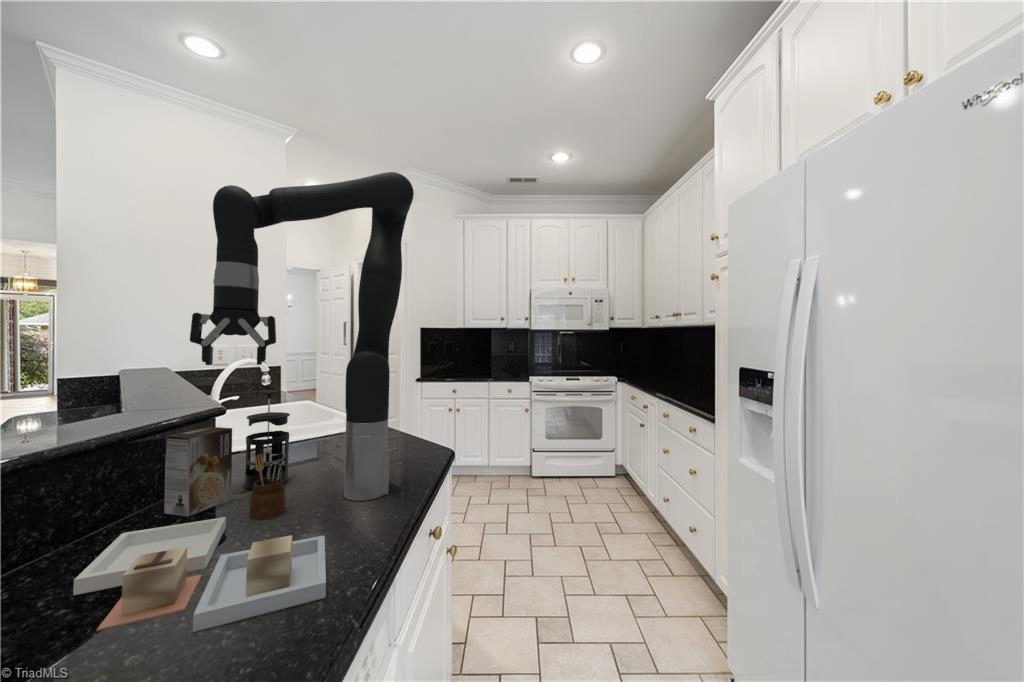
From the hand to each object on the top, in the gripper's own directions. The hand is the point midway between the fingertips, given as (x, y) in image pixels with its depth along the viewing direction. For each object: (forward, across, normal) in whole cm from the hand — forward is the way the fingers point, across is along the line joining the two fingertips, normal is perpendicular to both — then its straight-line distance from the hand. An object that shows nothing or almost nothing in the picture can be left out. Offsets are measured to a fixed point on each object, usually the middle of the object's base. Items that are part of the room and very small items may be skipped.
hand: (234, 364), depth 78 cm
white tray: (+30, +6, +17) cm, 35 cm away
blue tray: (+30, -10, +32) cm, 45 cm away
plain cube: (+30, -10, +32) cm, 45 cm away
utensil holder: (+30, -7, +6) cm, 32 cm away
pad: (+30, +3, +30) cm, 43 cm away
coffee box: (+30, +6, -4) cm, 31 cm away
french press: (+30, -5, -15) cm, 34 cm away
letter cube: (+29, +3, +30) cm, 42 cm away
